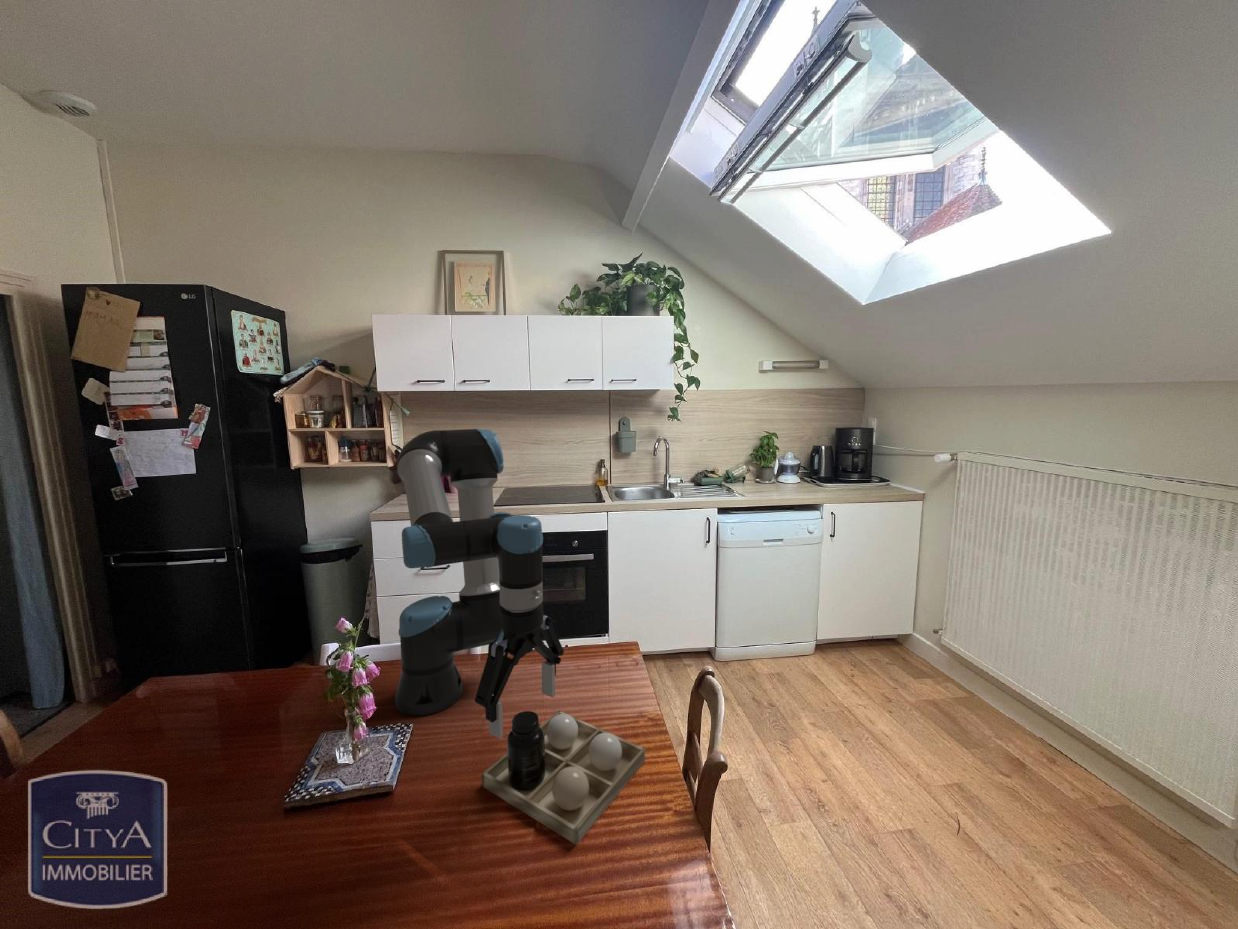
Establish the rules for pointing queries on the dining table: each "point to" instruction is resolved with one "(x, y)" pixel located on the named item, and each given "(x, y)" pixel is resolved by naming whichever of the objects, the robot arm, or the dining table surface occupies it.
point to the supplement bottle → (526, 752)
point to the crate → (541, 798)
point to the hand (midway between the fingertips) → (523, 713)
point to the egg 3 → (605, 752)
